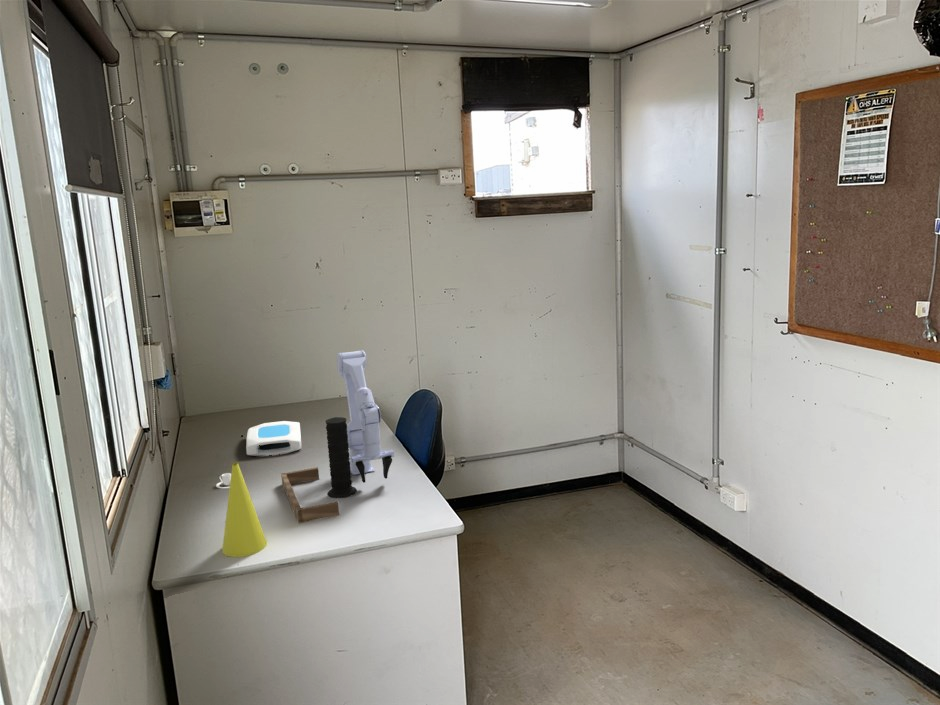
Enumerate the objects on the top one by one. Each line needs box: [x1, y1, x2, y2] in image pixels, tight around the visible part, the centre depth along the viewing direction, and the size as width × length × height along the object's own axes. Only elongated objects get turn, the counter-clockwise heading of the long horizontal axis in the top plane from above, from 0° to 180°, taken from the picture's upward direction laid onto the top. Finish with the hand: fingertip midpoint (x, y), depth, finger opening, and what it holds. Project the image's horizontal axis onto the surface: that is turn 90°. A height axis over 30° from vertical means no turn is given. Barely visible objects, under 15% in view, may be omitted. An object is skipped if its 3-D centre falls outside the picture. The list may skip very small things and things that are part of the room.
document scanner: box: [245, 420, 302, 457], centre depth 297 cm, size 21×28×6 cm
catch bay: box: [280, 466, 340, 524], centre depth 238 cm, size 36×13×4 cm, turn 22°
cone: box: [221, 461, 268, 558], centre depth 203 cm, size 12×12×25 cm
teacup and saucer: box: [215, 472, 231, 489], centre depth 254 cm, size 9×8×4 cm
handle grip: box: [325, 416, 358, 499], centre depth 240 cm, size 10×26×10 cm
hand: (374, 479), depth 246 cm, fingers open, 7 cm apart
